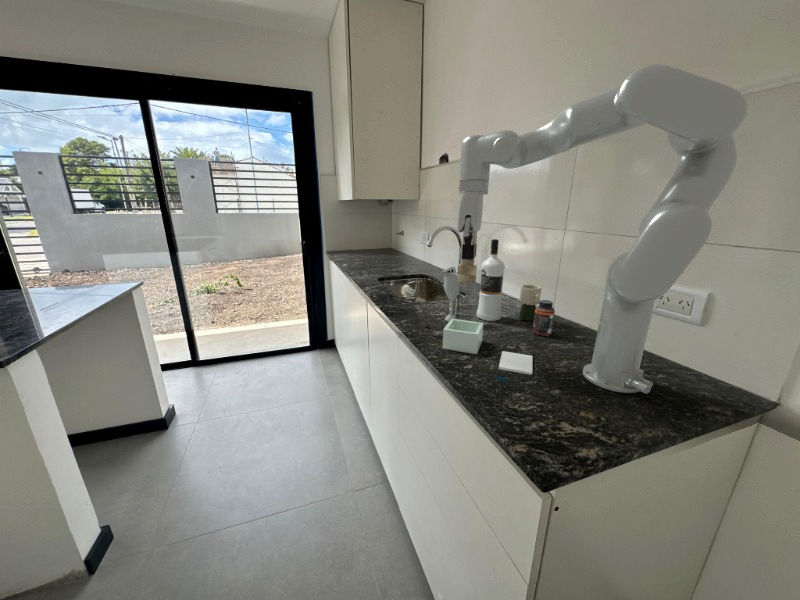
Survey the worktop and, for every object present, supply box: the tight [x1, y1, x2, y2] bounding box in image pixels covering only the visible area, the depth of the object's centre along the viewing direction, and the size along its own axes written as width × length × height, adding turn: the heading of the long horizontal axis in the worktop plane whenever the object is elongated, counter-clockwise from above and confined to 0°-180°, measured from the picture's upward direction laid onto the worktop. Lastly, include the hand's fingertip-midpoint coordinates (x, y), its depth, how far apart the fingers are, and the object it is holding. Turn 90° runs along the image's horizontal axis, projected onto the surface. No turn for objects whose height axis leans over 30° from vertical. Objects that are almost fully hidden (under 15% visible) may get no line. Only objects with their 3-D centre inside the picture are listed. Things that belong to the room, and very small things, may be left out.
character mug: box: [518, 284, 542, 321], centre depth 118 cm, size 11×7×13 cm, turn 8°
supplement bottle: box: [532, 299, 556, 337], centre depth 105 cm, size 6×6×11 cm
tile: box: [498, 350, 533, 376], centre depth 84 cm, size 8×2×10 cm
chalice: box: [442, 272, 462, 322], centre depth 115 cm, size 7×7×18 cm
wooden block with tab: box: [457, 232, 478, 284], centre depth 88 cm, size 5×3×14 cm, turn 68°
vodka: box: [476, 238, 506, 322], centre depth 118 cm, size 9×9×30 cm
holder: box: [442, 318, 484, 355], centre depth 95 cm, size 10×10×7 cm
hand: (468, 257), depth 88 cm, fingers closed on wooden block with tab, 3 cm apart
